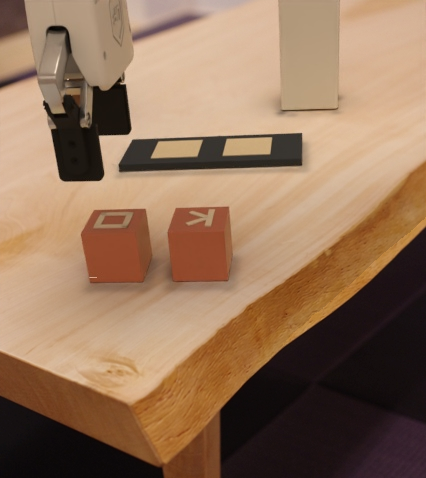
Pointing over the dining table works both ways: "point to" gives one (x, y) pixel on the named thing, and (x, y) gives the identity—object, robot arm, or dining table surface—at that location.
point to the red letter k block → (200, 244)
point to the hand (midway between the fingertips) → (98, 155)
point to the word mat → (213, 152)
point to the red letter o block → (117, 245)
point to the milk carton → (309, 53)
